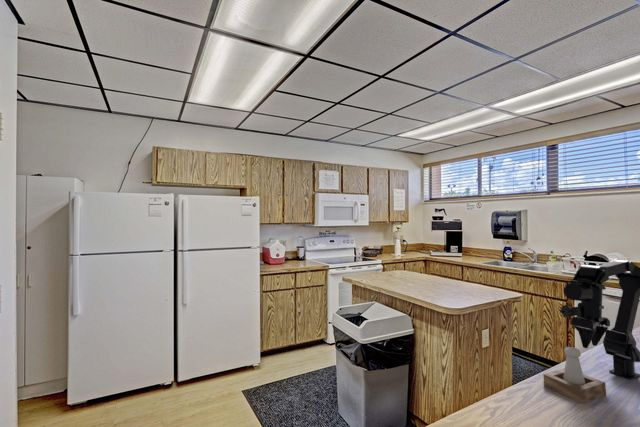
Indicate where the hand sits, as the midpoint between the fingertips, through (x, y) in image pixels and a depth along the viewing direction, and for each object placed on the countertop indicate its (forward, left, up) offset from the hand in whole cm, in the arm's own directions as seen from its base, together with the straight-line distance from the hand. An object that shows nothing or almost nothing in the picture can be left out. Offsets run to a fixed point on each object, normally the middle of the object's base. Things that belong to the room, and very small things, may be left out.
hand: (589, 346), depth 113 cm
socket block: (+10, 0, -13) cm, 16 cm away
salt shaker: (+9, 0, -12) cm, 15 cm away
